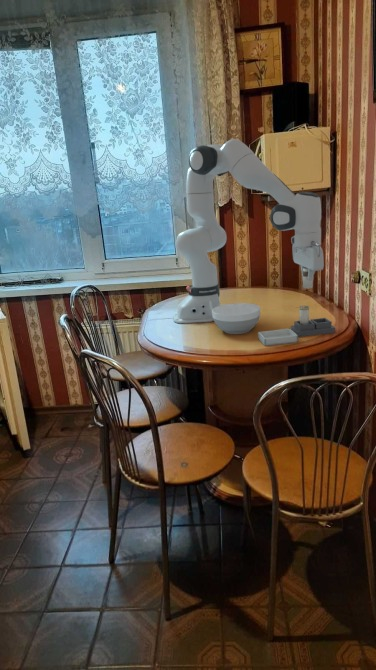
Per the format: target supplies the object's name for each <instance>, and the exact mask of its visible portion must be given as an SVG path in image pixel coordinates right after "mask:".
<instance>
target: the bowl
mask: <svg viewBox="0 0 376 670" xmlns="http://www.w3.org/2000/svg"><path fill="white" fill-rule="evenodd" d="M212 314H213V318H214V321H213V322H214V324H215V325H217V327H218V328H219V329H220V330H222V332H224V333H226V334H229V335H241V334H247V333H249V332H250V331H251V330H252V329H253V328H255V326H256V325H257V324H258V322H259V321H260V318H261V317H260V316H261V307H260V305H257V304H254V303H251V302H250V303H249V302H235V303H234V302H232V303H226V304H220V306H217V307H215V308H214V309H213V310H212Z"/></svg>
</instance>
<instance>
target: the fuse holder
mask: <svg viewBox="0 0 376 670" xmlns="http://www.w3.org/2000/svg"><path fill="white" fill-rule="evenodd" d="M332 323H333V322H332V321H331V320H330V319H328V318H326V317H321V318H312V319H311V318H310V319H309V324H304V325H300V320H296V321H293V325H291V326H290V329H291V330H292V331H293V332H294V333H296V334H297V335H298V338H300V337H309V336H310V337H312V336H318V335H320V336H321V335H328V334H335V333H336V327H335V326H333V325H332Z"/></svg>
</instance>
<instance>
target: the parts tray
mask: <svg viewBox="0 0 376 670" xmlns="http://www.w3.org/2000/svg"><path fill="white" fill-rule="evenodd" d="M257 338H258V340H259V342H261V344H263V346H264V347H270V346H278V345H285V344H286V345H287V344H294V343H299V337H298V335H297V334H296V333H294V332H293V331H292V330H291V328H281V329H275V330H265V331H258V332H257Z"/></svg>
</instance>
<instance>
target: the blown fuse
mask: <svg viewBox="0 0 376 670" xmlns="http://www.w3.org/2000/svg"><path fill="white" fill-rule="evenodd" d="M308 272H309V271H308V268H306V267H304V266H303V277H302V288H303V289H307V290H308V289H312V288H313V285H314V284H313V283H314V279H313V280H312V281H309V280H307V275H308Z"/></svg>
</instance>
